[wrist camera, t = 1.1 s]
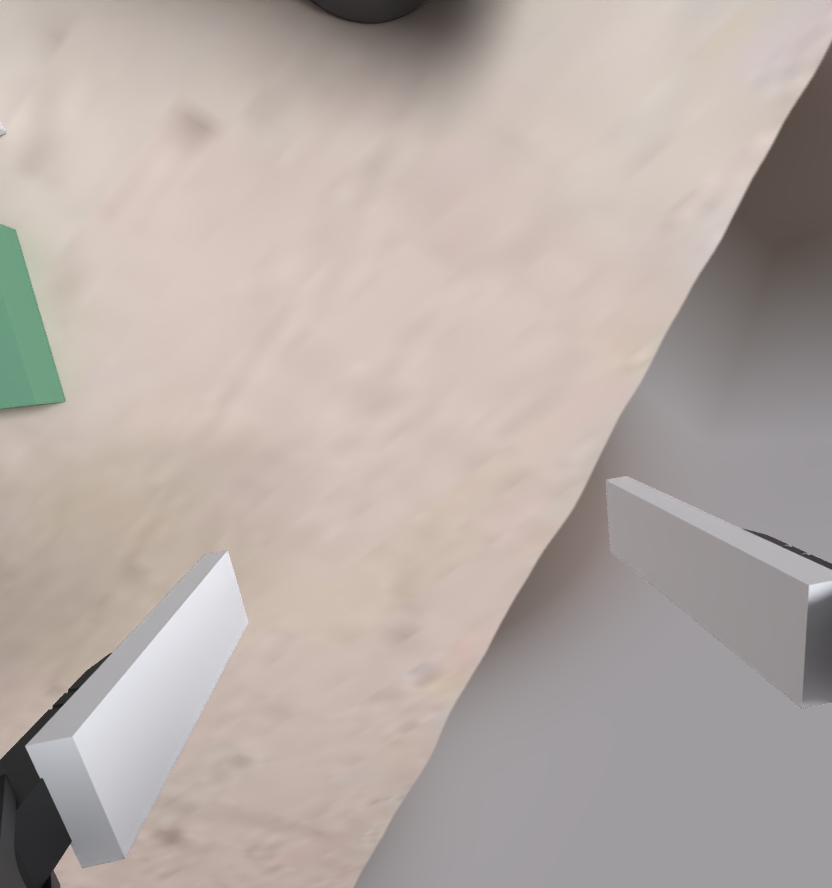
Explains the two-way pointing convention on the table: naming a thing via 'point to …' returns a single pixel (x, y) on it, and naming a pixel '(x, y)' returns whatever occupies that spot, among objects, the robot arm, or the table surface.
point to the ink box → (2, 129)
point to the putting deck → (22, 335)
